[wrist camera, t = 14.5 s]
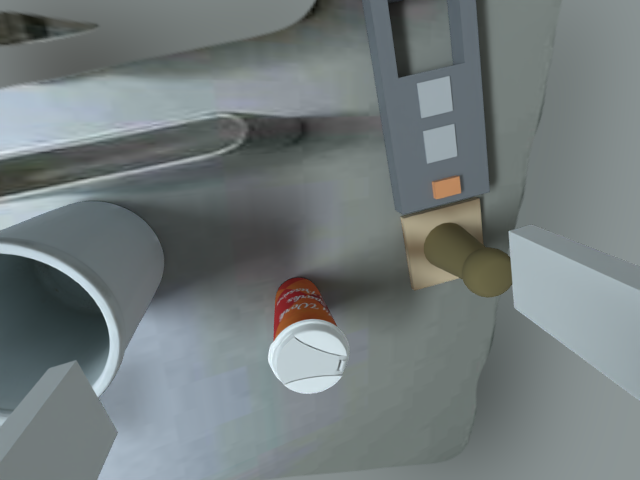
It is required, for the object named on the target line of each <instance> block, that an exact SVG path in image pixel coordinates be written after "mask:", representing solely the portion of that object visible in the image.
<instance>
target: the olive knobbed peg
mask: <svg viewBox="0 0 640 480" xmlns="http://www.w3.org/2000/svg"><path fill="white" fill-rule="evenodd" d="M424 254H425V257H426V259H427V260H428V261H429V262H430V263H431V264H432V265H434V266H436V267H438V268H440V269H442V270H444V271H446V272H448V273H450V274H452V275H454V276H457V277H459V278H461V279H463V281H464V283H465V285H466V286H467V287H468V289H469V290H470V291H472V292H473V293H475V294H477V295H479V296H482V297H494V296H499V295H501V294H503V293H504V292H505V291H507V290H508V289H509V288H510V286H511V285H512V271H511V258H510V257H509V256H508V255H507V254H506V253H504V252H503V251H501V250H499V249H495V248H489V247H485V246H484V245H483V244H482V243H481V242H479V241H478V240H477V239H476V238H475V237H473V236H472V235H471V234H470V233H469V232H467V231H466V230H465V229H464V228H463V227H461V226H460V225H458V224H456V223H450V222H449V223H443V224H440V225H438V226H436V227H435V228H434V229H433V230H431V231H430V233H429V234H428V236H427V237H426V240H425V243H424Z"/></svg>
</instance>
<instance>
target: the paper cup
mask: <svg viewBox="0 0 640 480" xmlns="http://www.w3.org/2000/svg"><path fill="white" fill-rule="evenodd" d="M348 359H349V343H348V340H347V338H346V336H345V335H344V333H343V332H342V331H341V330H340V329H339V328H338V327H337V325H336V323H335V321H334V319H333V317H332V315H331V313H330V311H329V309H328V307H327V305H326V304H325V302H324V300H323V298H322V296H321V294H320V292H319V290H318V289H317V287H316V286H315V285H314V284H313V283H312V282H311V281H310V280H308V279H305V278H292V279H289V280H287V281H285V282H284V283H283V284H282V285H281V286H280V287H279V289H278V291H277V294H276V299H275V316H274V342H273V343H272V344H271V345H270V349H269V354H268V361H269V364H270V366H271V368H272V370H273V372H274V374H275V375H276V377H277V378H278V379H279V380H280V381H282V382H283V384H284V385H285V386H286V387H288V388H289V389H291V390H293V391H295V392H299V393H305V394H311V393H317V392H321V391H324V390H326V389H328V388H330V387H331V386H333V385H334V384H335V383H336V382H337V381H338V380H339V379H340V378H341V377H342V375H343V374H342V372H343V371H344V369H345V367H346V365H347V362H348Z"/></svg>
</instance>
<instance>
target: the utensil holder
mask: <svg viewBox="0 0 640 480" xmlns="http://www.w3.org/2000/svg"><path fill="white" fill-rule="evenodd" d="M163 271H164V254H163V250H162V247H161V244H160V241H159V239H158V238H157V236H156V234H155V233H154V231H153V230H152V229H151V227H150V226H149V225H148V224H147V223H146V222H145V221H144V220H143V219H142V218H140V217H139V216H138V215H136V214H135V213H133V212H131V211H130V210H128V209H126V208H123V207H120V206H118V205H115V204H111V203H107V202H101V201H84V202H77V203H73V204H69V205H66V206H63V207H60V208H58V209H55V210H52V211H49V212H47V213H44V214H41V215H38V216H36V217H34V218H31V219H29V220H26V221H24V222H21V223H19V224H16V225H13V226H11V227H8V228H6V229H3V230H1V231H0V427H1V425H2V424H3V423H4V422H5V421H6V419H7V418H8V417H9V416H10V415H11V413H12V412H13V411H14V410H15V409H16V407H17V406H18V405H19V404H20V403H21V401H22V400H23V399H24V398H25V396H26V395H27V394H28V393H29V392H30V390H31V389H32V388H33V387H34V386H35V384H36V383H37V382H38V381H39V380H40V378H41V377H42V376H43V375H44V374H45V372H46V371H47V370H48V369H49V368H52V367H55V366H58V365H62V364H65V363H68V362H72V361H75V360H77V362H78V364H79V365H80V367H81V369H82V371H83V372H84V374H85V376H86V378H87V379H88V381H89V383H90V385H91V386H92V388H93V390H94V392H95V393H96V395H97V397H98V398H99V397H100V396H101V395H102V394H103V392H104V391H105V390H106V389H107V387H108V386H109V385H110V383H111V382H112V380H113V379H114V377H115V375H116V374H117V372H118V370H119V367H120V365H121V362H122V359H123V356H124V352H125V350H126V348H127V346H128V344H129V342H130V340H131V338H132V336H133V334H134V333H135V331H136V329H137V327H138V325H139V323H140V321H141V319H142V318H143V316H144V314H145V312H146V310H147V308H148V306H149V304H150V302H151V300H152V298H153V296H154V294H155V292H156V290H157V288H158V286H159V284H160V282H161V279H162V276H163Z"/></svg>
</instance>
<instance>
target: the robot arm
mask: <svg viewBox="0 0 640 480" xmlns="http://www.w3.org/2000/svg"><path fill="white" fill-rule="evenodd" d="M509 244H510V257H511V271H512V284H513V297H514V308H515V309H517V310H518V311H519V312H521V313H522V314H523V315H525V316H526V317H527V318H529V319H530V320H531V321H533V322H534V323H535V324H537V325H538V326H539V327H541V328H542V329H543V330H545V331H546V332H548V333H549V334H550V335H552V336H553V337H554V338H556V339H557V340H558V341H560V342H561V343H562V344H564V345H565V346H567V347H568V348H569V349H570V350H572V351H573V352H574V353H576V354H577V355H578V356H580V357H581V358H583V359H584V360H585V361H587V362H588V363H589V364H591V365H592V366H594V367H595V368H596V369H597V370H599V371H600V372H601V373H603V374H604V375H605V376H607V377H608V378H609V379H611V380H612V381H613V382H615V383H616V384H617V385H619V386H620V387H622V388H623V389H624V390H626V391H627V392H628V393H630V394H631V395H632V396H634V397H635V398H636V399H638V400H639V401H640V266H638V265H635V264H632V263H629V262H627V261H625V260H622V259H619V258H617V257H614V256H612V255H609V254H607V253H604V252H602V251H599V250H597V249H594V248H592V247H589V246H586V245H584V244H581V243H579V242H576V241H574V240H571V239H568V238H566V237H563V236H561V235H558V234H555V233H553V232H550V231H548V230H545V229H543V228H540V227H538V226H535V225H533V224H530V225H527V226H524V227H520V228H517V229H514V230H510V231H509ZM117 433H118V432H117V430H116V428H115V426H114V425H113V423H112V421H111V419H110V418H109V416H108V414H107V413H106V411H105V409H104V407H103V406H102V404H101V402H100V400H99V399H98V397H97V395H96V393H95V392H94V390H93V388H92V386H91V385H90V383H89V381H88V379H87V378H86V376H85V374H84V372H83V371H82V369H81V367H80V365H79V364H78V362H77V360H75V361H72V362H68V363H65V364H62V365H58V366H55V367H52V368H49V369H48V370H47V371H46V372H45V374H44V375H43V376H42V377H41V378H40V380H39V381H38V382H37V383H36V384H35V386H34V387H33V388H32V389H31V390H30V392H29V393H28V394H27V395H26V396H25V398H24V399H23V400H22V401H21V403H20V404H19V405H18V406H17V407H16V409H15V410H14V411H13V412H12V413H11V415H10V416H9V417H8V418H7V419H6V421H5V422H4V423H3V424H2V425H1V427H0V480H97V479H98V476H99V474H100V472H101V469H102V467H103V465H104V463H105V460H106V458H107V456H108V454H109V451H110V449H111V447H112V445H113V442H114V440H115V438H116V436H117Z"/></svg>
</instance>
